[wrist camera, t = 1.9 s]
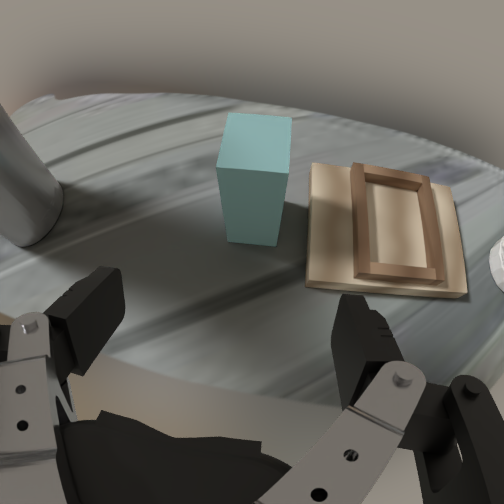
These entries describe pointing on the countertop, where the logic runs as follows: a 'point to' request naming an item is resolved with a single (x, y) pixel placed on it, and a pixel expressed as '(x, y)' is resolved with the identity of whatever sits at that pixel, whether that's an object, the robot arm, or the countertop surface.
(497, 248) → the white cup
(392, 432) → the robot arm
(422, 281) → the tan flat rimmed tray
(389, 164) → the countertop surface
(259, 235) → the pale teal block
